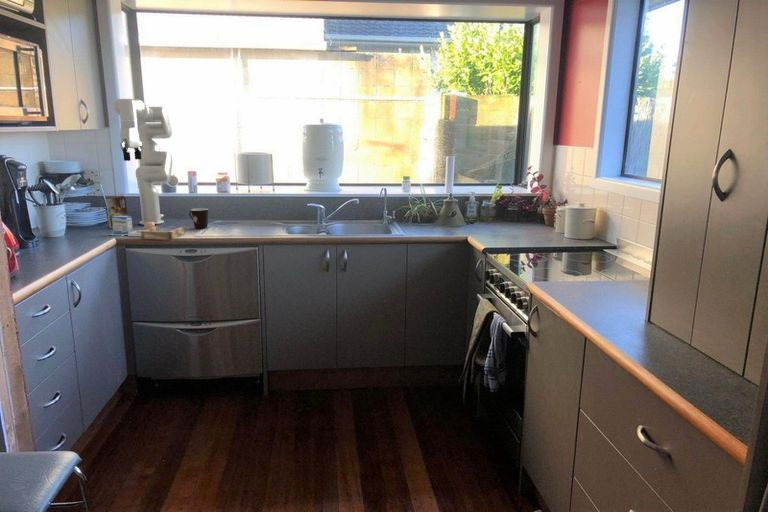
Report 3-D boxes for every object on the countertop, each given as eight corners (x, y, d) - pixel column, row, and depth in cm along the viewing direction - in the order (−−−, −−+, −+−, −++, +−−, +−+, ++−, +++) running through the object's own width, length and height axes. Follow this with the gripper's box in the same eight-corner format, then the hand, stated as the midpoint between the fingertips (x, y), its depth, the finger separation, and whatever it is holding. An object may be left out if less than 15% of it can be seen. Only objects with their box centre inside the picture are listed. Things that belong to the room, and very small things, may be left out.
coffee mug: (211, 228, 295) (210, 209, 293) (195, 230, 291) (193, 211, 288) (205, 225, 305) (203, 207, 302) (189, 226, 300) (187, 208, 298)
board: (120, 232, 286) (120, 231, 286) (137, 232, 284) (136, 231, 284) (108, 235, 276) (108, 235, 276) (125, 236, 275) (125, 235, 275)
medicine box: (113, 233, 279) (111, 216, 277) (118, 232, 283) (116, 215, 281) (128, 234, 278) (126, 217, 276) (133, 232, 282) (131, 215, 280)
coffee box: (127, 225, 304) (124, 195, 301) (129, 227, 299) (126, 197, 295) (108, 226, 299) (105, 197, 296) (110, 228, 294) (107, 198, 290)
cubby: (156, 233, 282) (155, 226, 281) (184, 234, 280) (183, 227, 279) (141, 238, 269) (140, 231, 268) (171, 239, 267) (170, 232, 266)
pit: (136, 233, 281) (136, 230, 280) (149, 234, 280) (149, 230, 280) (128, 236, 274) (128, 233, 274) (142, 237, 273) (141, 233, 273)
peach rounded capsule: (148, 231, 288) (147, 221, 287) (157, 231, 288) (156, 221, 287) (142, 232, 284) (141, 223, 282) (152, 233, 283) (151, 223, 282)
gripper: (132, 124, 284) (135, 158, 288) (111, 124, 267) (115, 161, 271) (145, 124, 283) (149, 158, 287) (126, 124, 266) (130, 161, 270)
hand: (132, 160), depth 279 cm, fingers open, 9 cm apart
